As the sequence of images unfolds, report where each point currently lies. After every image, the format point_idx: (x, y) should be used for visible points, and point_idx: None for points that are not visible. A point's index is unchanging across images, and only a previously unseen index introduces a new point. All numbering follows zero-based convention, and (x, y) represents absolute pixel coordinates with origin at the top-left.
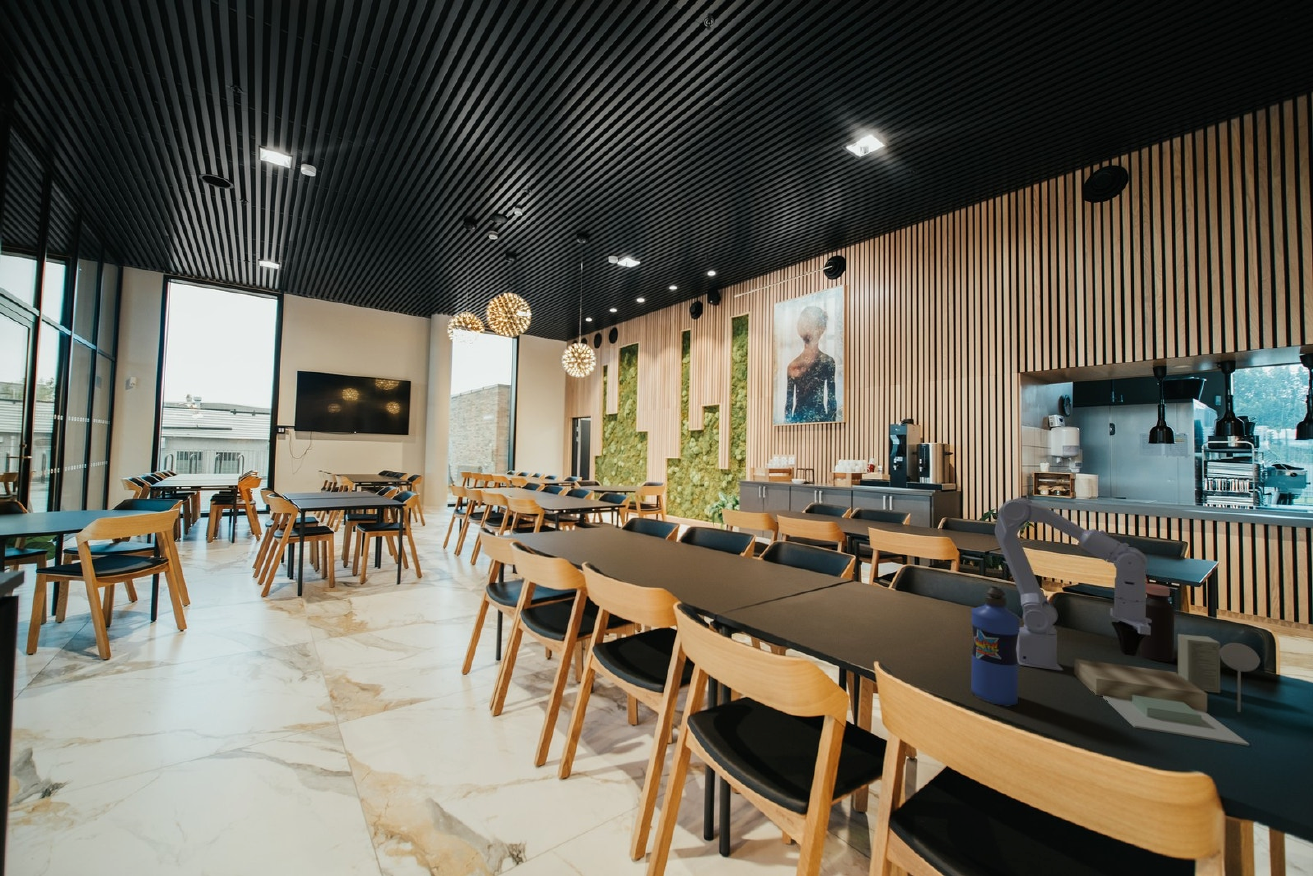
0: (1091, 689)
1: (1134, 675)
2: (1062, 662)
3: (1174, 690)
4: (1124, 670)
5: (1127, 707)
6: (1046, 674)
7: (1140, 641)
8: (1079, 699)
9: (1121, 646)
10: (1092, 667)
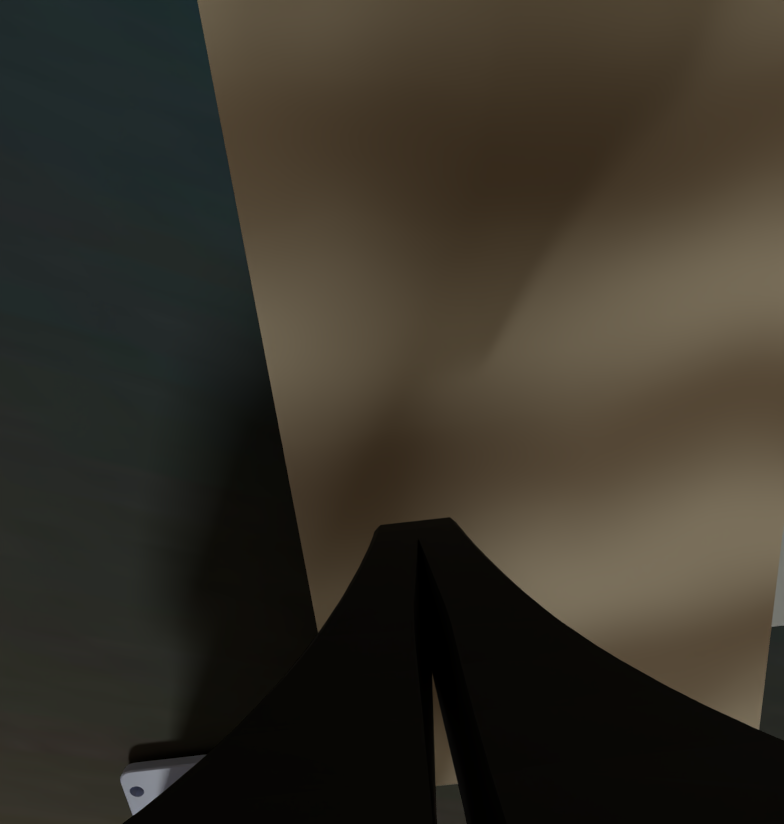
0: None
1: (564, 478)
2: (122, 709)
3: None
4: (455, 521)
5: None
6: (439, 814)
7: (592, 647)
8: (775, 734)
9: (432, 715)
10: None
